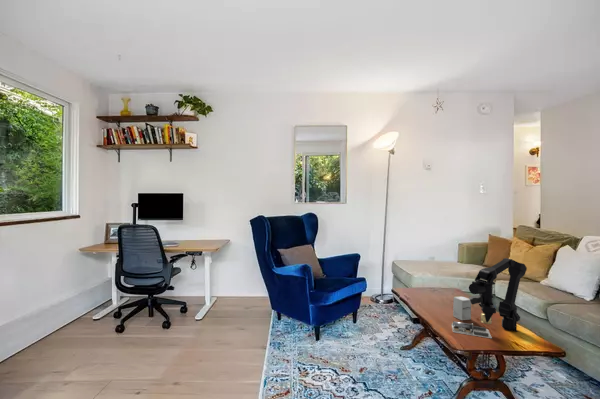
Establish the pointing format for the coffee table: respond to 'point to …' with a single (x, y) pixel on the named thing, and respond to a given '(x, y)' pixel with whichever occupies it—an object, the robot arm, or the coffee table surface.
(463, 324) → the pipe run
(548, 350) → the coffee table surface
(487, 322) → the valve
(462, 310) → the supplement box
